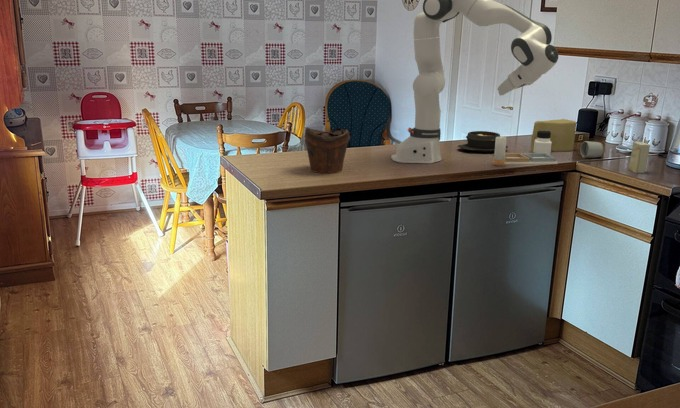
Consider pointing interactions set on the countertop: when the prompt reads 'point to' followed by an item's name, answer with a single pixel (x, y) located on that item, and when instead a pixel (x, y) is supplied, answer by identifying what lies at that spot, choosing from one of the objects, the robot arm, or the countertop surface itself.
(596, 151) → the ceramic mug
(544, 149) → the medicine bottle
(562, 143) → the cheese
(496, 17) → the robot arm
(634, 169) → the skincare box
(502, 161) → the sleeve
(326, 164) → the wooden bucket
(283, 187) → the countertop surface
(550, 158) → the seat plate
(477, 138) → the casserole
